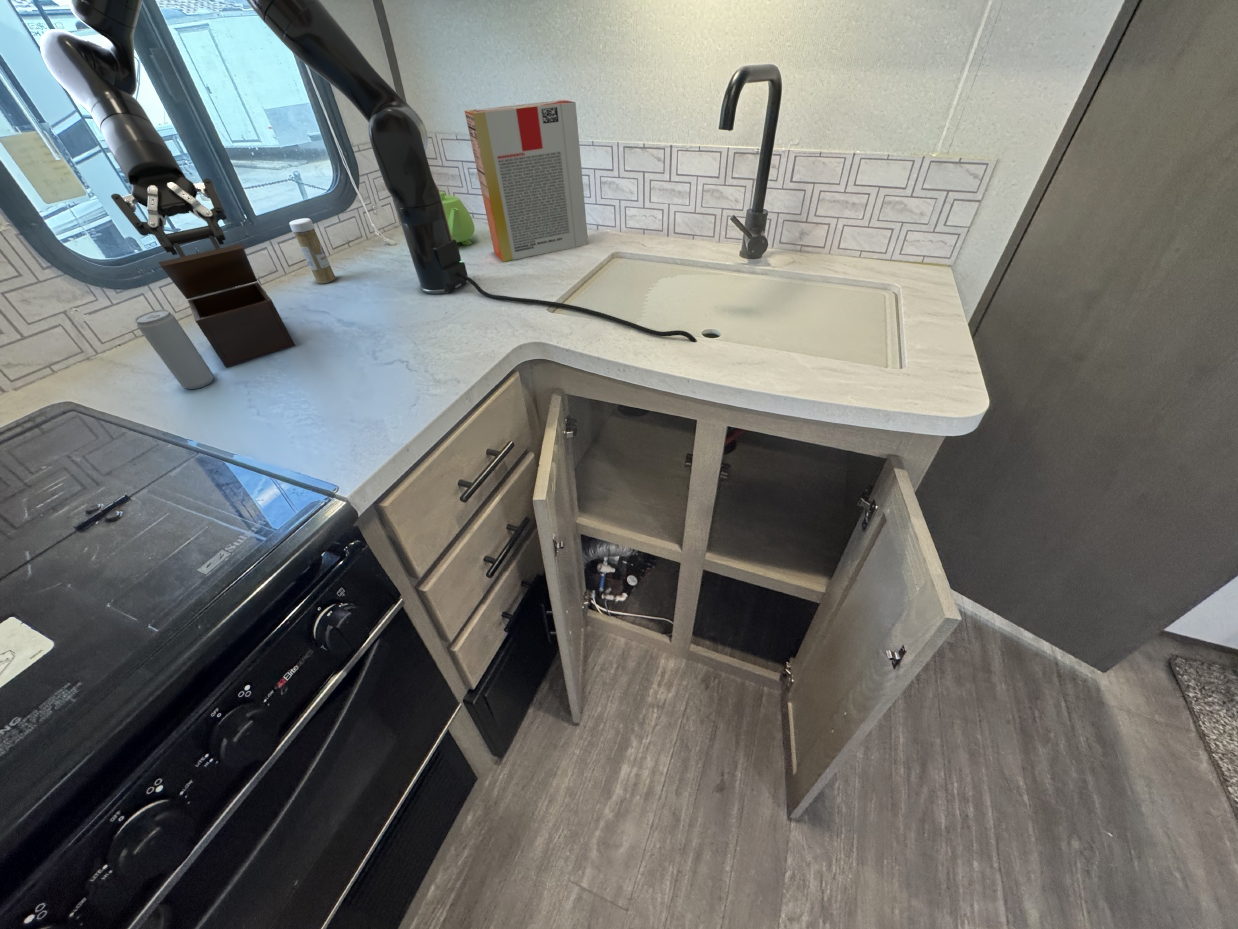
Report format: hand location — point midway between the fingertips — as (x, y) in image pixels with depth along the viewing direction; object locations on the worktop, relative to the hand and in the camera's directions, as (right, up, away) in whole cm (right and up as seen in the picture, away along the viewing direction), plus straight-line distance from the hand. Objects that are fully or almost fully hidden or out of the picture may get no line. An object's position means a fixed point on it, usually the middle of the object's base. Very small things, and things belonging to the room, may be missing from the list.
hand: (197, 246), depth 81 cm
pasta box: (+49, +20, +47) cm, 71 cm away
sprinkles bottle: (-1, +8, +38) cm, 39 cm away
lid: (-1, -3, +5) cm, 6 cm away
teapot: (+24, +25, +55) cm, 65 cm away
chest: (0, -13, +13) cm, 18 cm away
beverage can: (-2, -22, +3) cm, 22 cm away
